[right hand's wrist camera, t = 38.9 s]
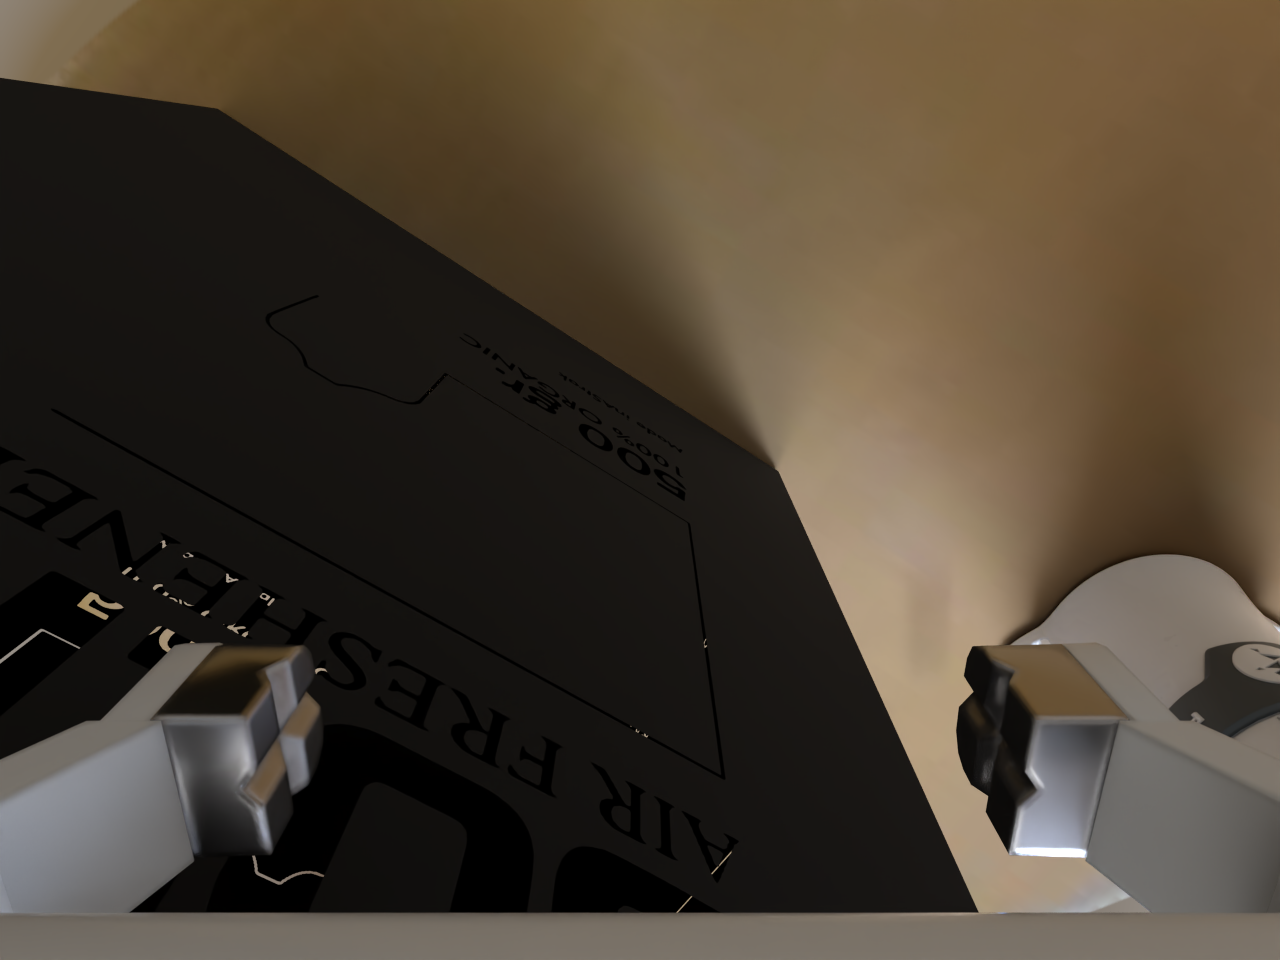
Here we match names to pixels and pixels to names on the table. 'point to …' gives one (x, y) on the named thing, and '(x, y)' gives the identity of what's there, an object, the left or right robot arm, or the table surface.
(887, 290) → the table surface
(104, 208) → the cardboard box
